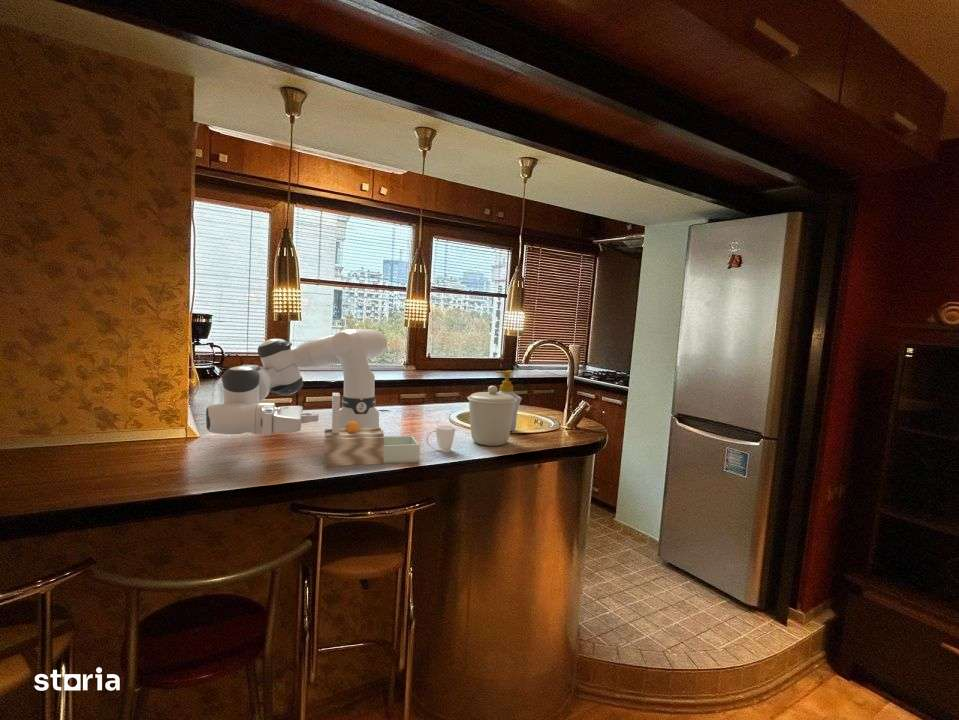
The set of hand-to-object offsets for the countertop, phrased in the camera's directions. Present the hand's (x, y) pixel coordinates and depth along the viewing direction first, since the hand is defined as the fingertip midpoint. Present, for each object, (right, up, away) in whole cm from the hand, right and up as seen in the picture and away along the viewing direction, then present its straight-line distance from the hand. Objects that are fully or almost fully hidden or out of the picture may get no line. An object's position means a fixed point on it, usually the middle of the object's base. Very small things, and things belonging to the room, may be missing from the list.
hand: (318, 417), depth 147 cm
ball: (+9, -3, +4) cm, 11 cm away
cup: (+35, -14, +20) cm, 42 cm away
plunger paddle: (+4, -5, +2) cm, 7 cm away
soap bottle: (+58, -12, +55) cm, 81 cm away
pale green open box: (+22, -14, +9) cm, 28 cm away
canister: (+52, -13, +33) cm, 63 cm away
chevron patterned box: (+9, -13, +5) cm, 17 cm away
